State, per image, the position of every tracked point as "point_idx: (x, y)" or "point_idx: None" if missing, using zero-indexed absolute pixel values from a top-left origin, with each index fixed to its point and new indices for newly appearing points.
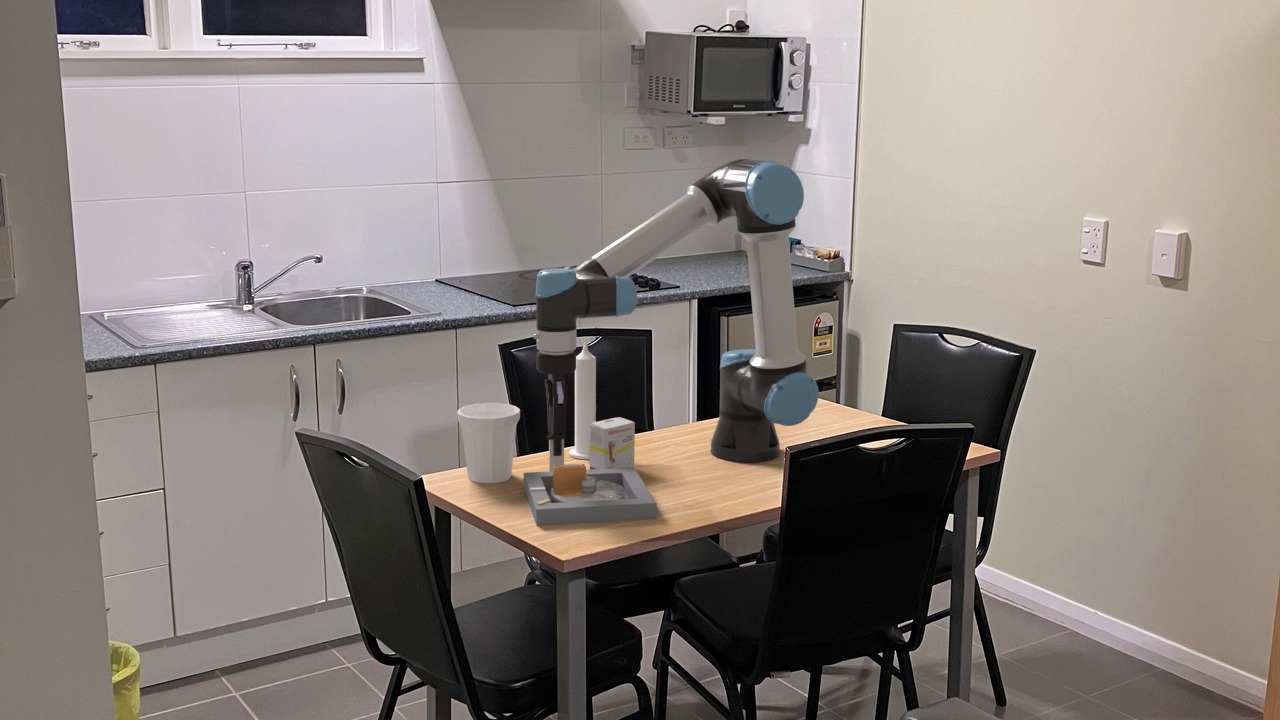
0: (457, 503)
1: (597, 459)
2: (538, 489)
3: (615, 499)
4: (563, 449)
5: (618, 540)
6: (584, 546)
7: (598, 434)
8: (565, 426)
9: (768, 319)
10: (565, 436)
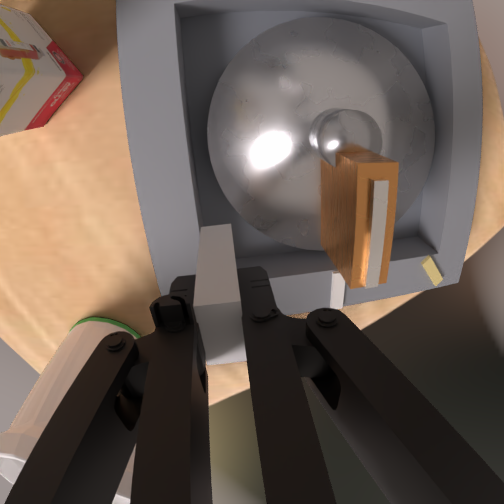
0: (235, 391)
1: (28, 103)
2: (344, 288)
3: (414, 69)
4: (235, 268)
5: (488, 108)
6: (496, 176)
7: None
8: (389, 362)
9: None
10: (332, 313)
